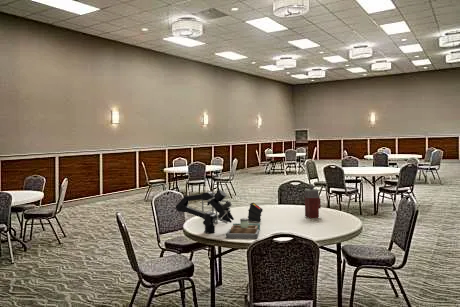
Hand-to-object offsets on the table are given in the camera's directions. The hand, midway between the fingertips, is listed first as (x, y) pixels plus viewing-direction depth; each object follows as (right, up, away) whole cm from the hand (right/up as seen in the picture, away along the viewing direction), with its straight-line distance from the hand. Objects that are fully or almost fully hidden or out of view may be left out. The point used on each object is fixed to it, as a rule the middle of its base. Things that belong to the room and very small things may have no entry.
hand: (232, 221), depth 286 cm
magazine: (+19, -7, +38) cm, 43 cm away
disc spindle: (+9, -7, -1) cm, 11 cm away
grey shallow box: (+7, -9, -9) cm, 15 cm away
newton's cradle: (-14, -8, +47) cm, 50 cm away
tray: (+9, -8, +1) cm, 12 cm away
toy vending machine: (+69, -5, +51) cm, 85 cm away
